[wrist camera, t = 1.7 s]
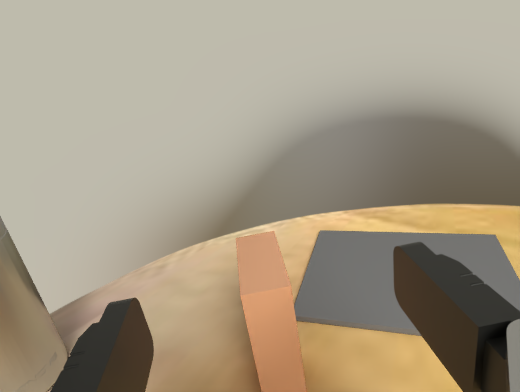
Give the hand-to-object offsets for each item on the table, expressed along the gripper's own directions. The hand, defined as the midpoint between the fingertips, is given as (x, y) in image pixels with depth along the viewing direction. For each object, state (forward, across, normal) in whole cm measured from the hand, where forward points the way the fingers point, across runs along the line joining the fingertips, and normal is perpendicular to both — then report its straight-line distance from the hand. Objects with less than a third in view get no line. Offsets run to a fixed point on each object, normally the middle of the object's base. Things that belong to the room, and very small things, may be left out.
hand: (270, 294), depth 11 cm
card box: (+11, 0, +18) cm, 21 cm away
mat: (+21, -15, +18) cm, 31 cm away
